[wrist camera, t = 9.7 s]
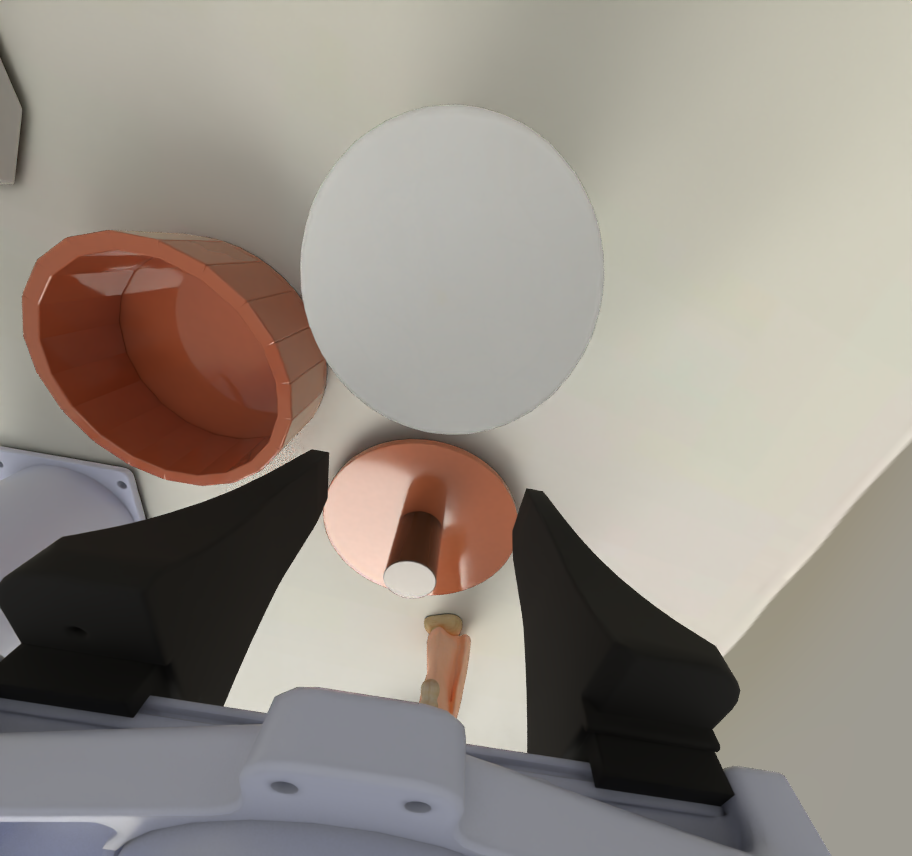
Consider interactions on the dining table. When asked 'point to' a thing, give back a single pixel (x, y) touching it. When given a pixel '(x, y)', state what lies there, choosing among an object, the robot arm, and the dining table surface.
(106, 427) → the bowl
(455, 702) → the grandmother figurine
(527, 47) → the dining table surface
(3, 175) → the flask
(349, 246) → the pill bottle
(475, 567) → the lid
